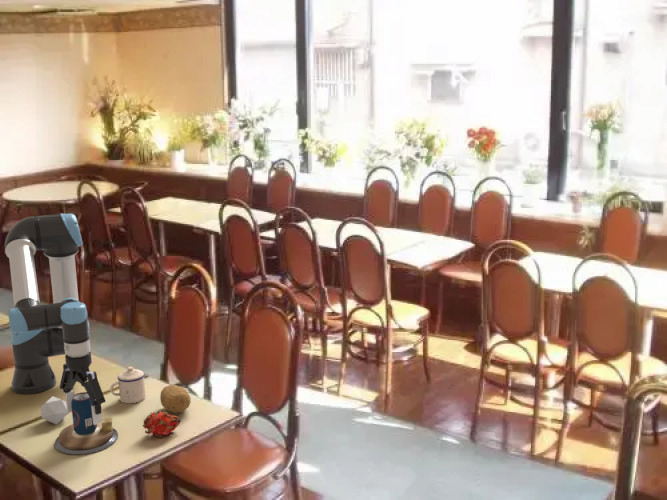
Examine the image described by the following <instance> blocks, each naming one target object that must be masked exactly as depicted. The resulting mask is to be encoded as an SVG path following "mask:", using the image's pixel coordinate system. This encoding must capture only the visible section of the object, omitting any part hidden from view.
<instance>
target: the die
mask: <svg viewBox="0 0 667 500" xmlns="http://www.w3.org/2000/svg"><path fill="white" fill-rule="evenodd" d="M40 413H41V418H42V420H45V421H47V422H49V423H51V424H54V425H58V424H59V423H60V422H61V421H62V420H63V419H64V418H65V417H66V416H67V415H69V413H67V406H66V400H63V399H61V398H59V397H55V396H53V395H52V396H51V397H50V398H49V399H47V401H46V402H45V403H43V404H42V405H41V407H40Z"/></svg>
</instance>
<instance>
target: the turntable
mask: <svg viewBox="0 0 667 500" xmlns="http://www.w3.org/2000/svg"><path fill="white" fill-rule="evenodd" d="M113 426H114V425H113V417H105V418H102V422H100V423H98V424H97V428H96V430H95V432H94V433H92V434H90V435H85V436H81V435H78V434H77V433H76V432H75V431H74V426H73V423H72V424H69V425H67V426H66V427H64V428H63V429H62V430H61V431H60V432H59V434H58V437H59V441H60V444H61V446H63V447H64V448H67V449H71V450H85V449H91V448H95V447H98V446H100V445H103V444H105V443H106V442H108V441H109V440H110V439H111V438H112V436H113V429H112V428H114V427H113Z"/></svg>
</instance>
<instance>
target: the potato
mask: <svg viewBox="0 0 667 500" xmlns="http://www.w3.org/2000/svg"><path fill="white" fill-rule="evenodd" d="M159 398H160V399H159V401H160V403H161V405H162V407H163V408H164V409H165V410H166V412H171V413H173V414H180V413H183V412H185V411H186V410H187V409H188V408H189V407H190V404H191V396H190V394H189V393H188V390H187V389H186V388H183V387H182V386H178V385H175V384H170V385H165V387H164V386H163V388H162V390H161V391H160V397H159Z"/></svg>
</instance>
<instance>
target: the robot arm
mask: <svg viewBox="0 0 667 500" xmlns="http://www.w3.org/2000/svg"><path fill="white" fill-rule="evenodd" d="M81 246H83V239H82V234H81V232H80V226H79V222H78V219H77V216H76V215H75V214H74V213H57V214H56V213H55V214H47V215H38V216H37V215H35V216H34V215H33V216H27V217H23V218H22V219H21V220H19V221H17V222H16V223H15V224H14V225H13V226H12V227H11V229H10V230H9V231H8V233H7V236H6V237H5V241H4V253H5V255H6V257H7V258H9V259H8V260H9V270H10V278H11V286H12V297H13V307H14V308H13V307H12V308H9V310H8V311H7V314H8V322H9V329H10V332H11V334H10V335H11V336H10V337H11V346H12V353H13V362H14V363H13V364H14V372H13V376H12V380H11V390H12V391H13V392H14V393H16V394H21V395H22V394H23V395H30V394H31V395H32V394H38V393H42V392H45V391H48V390H50V389H51V388H53V387H55V386H56V384H57V378H56V374H55V372H54V371H53V369H52V367H51V365H50V361H49V360H50V359H49V357H50V358H51V357H52V358H53V357H56V356H63V355H64V357H65V358H64V359H65V363H63V365H62V369H63V370H62V375H61V380H60V384H59V389H60V390H63V393H64V398H65V402H66V406H67V413H68V414H70V413H72V407H71V401H72V399H73V396H74V395H75V390H74V387H75V385H76V383H78V384H80V386H81V387H83V388H84V389H85V392H87V393H88V395H89V397H90V399H91V401H92V403H93V404H92V405H91V407H92V417H93V424H94V425H96V424H98V423H100V422H102V419H103V418H102V404H104V403H106V398H105V395H104V392H103V391H102V388H101V385H100V382H99V380H98V375H97V372H96V371H90V368H89V367H90V366H91V364H93V363H92V353H91V349H92V348H91V341H90V337H91V336H90V333H91V332H90V321H89V320H88V310H87V305H86V304H85V303H84V302H80V300H79V292H78V279H77V270H76V255H77V254H78V253H79V247H81ZM37 251H43V255H44V256H45V257H47V258H48V261H49V271H50V281H51V290H52V300H53V303H47V304H41V302H40V294H39V288H38V287H39V286H38V279H37V273H36V264H35V254H36V253H37Z"/></svg>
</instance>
